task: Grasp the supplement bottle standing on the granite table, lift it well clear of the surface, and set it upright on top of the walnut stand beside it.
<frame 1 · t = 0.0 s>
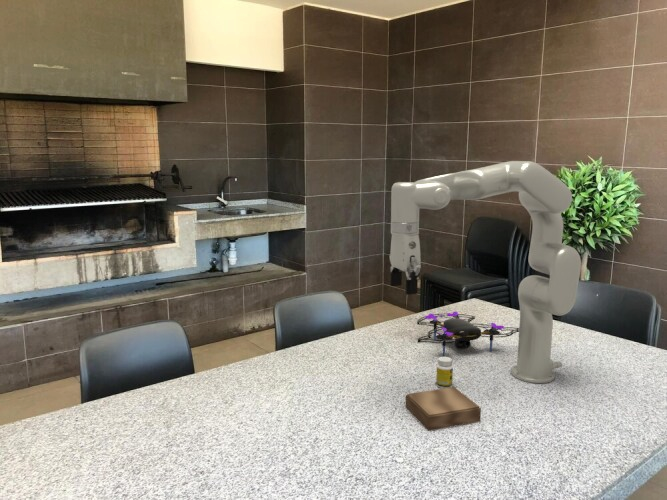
hand: (403, 289, 144), 31 cm above the table, tool pointing down, fingers open, 9 cm apart
walnut stand: (441, 414, 139), on the table
supplement bottle: (444, 386, 156), on the table
drone: (455, 346, 190), on the table
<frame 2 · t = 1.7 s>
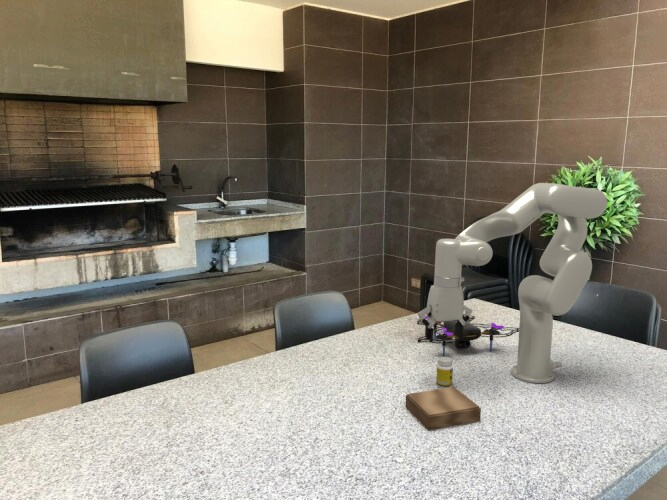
hand: (443, 338, 153), 15 cm above the table, tool pointing down, fingers open, 9 cm apart
nothing on the table moved.
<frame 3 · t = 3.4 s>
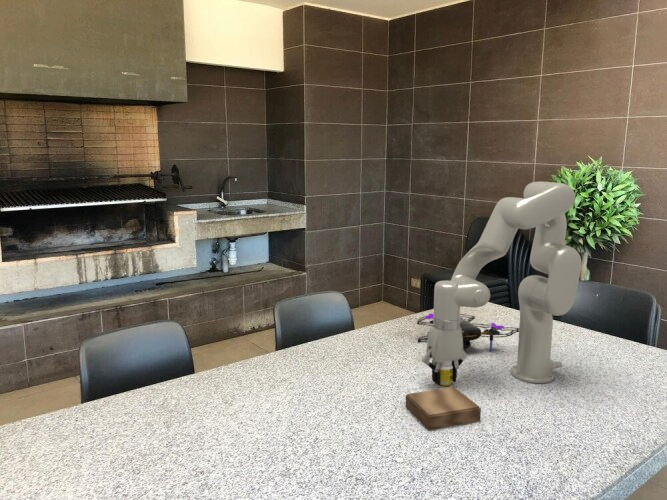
hand: (444, 381, 156), 1 cm above the table, tool pointing down, fingers closed on supplement bottle, 4 cm apart
supplement bottle: (444, 386, 156), on the table, touching gripper
everything else where it was.
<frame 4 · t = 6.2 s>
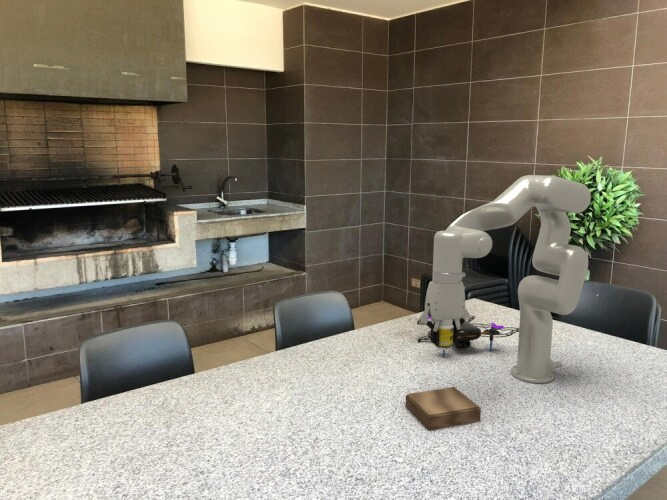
hand: (444, 342, 142), 18 cm above the table, tool pointing down, fingers closed on supplement bottle, 4 cm apart
supplement bottle: (443, 348, 142), point 16 cm above the table, touching gripper
everything else where it was.
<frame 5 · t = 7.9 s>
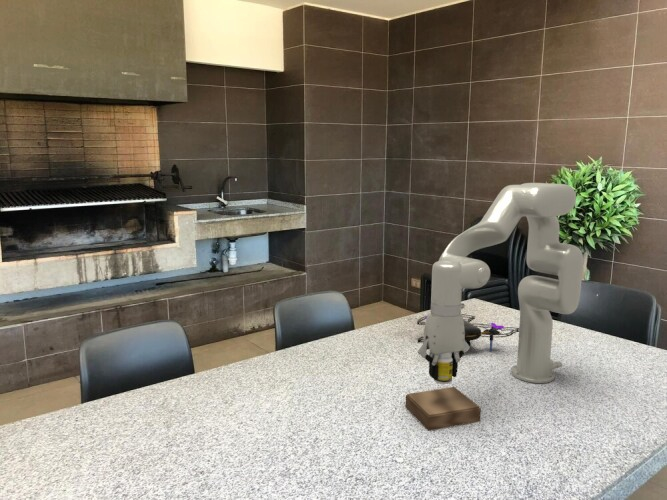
hand: (443, 375, 137), 11 cm above the table, tool pointing down, fingers closed on supplement bottle, 4 cm apart
supplement bottle: (442, 381, 137), point 9 cm above the table, touching gripper
everything else where it was.
when the fingers open (7 cm above the table, at t = 9.0 s): supplement bottle drops 1 cm, resting on walnut stand.
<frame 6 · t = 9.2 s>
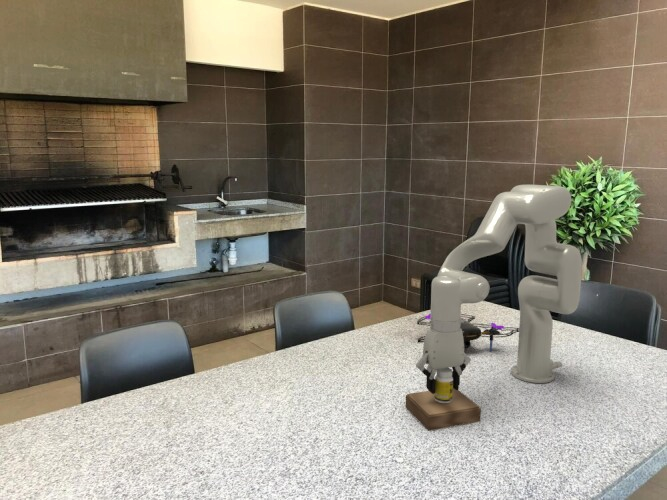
hand: (442, 389, 137), 7 cm above the table, tool pointing down, fingers open, 6 cm apart
supplement bottle: (443, 400, 138), point 4 cm above the table, touching walnut stand
everything else where it was.
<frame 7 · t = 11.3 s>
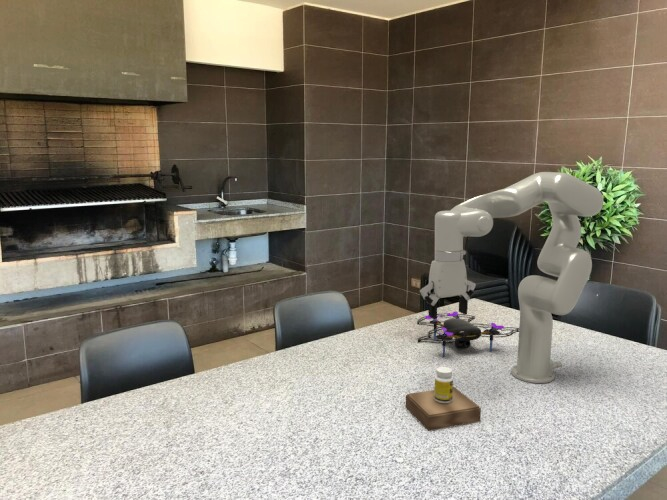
hand: (448, 315, 147), 23 cm above the table, tool pointing down, fingers open, 9 cm apart
nothing on the table moved.
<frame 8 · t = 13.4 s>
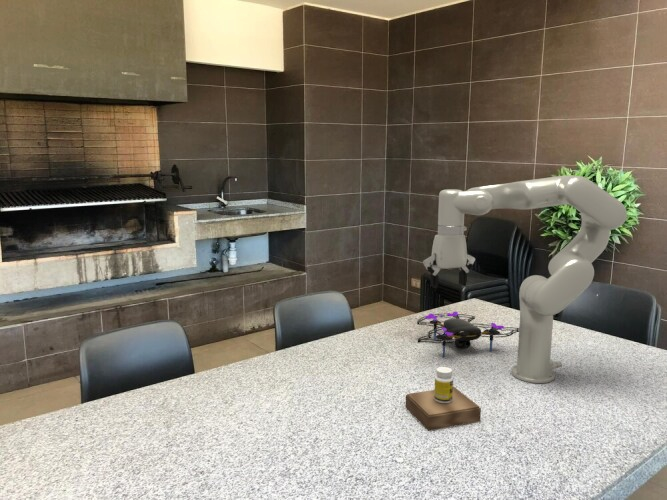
hand: (448, 286, 160), 28 cm above the table, tool pointing down, fingers open, 9 cm apart
nothing on the table moved.
at the end: supplement bottle inside the target area on the walnut stand (0.3 cm from its centre), point 3.8 cm above the walnut stand's base; supplement bottle tilted 0°; the gripper is holding nothing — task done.
